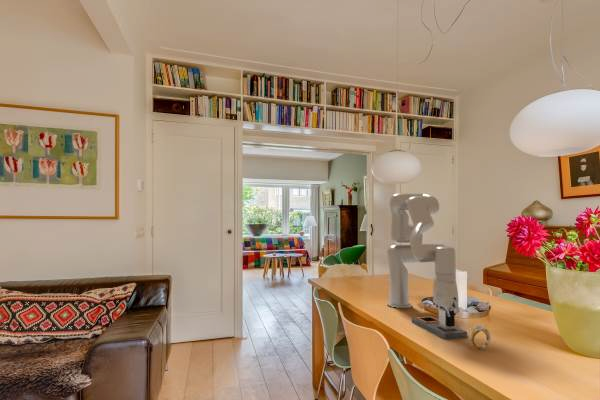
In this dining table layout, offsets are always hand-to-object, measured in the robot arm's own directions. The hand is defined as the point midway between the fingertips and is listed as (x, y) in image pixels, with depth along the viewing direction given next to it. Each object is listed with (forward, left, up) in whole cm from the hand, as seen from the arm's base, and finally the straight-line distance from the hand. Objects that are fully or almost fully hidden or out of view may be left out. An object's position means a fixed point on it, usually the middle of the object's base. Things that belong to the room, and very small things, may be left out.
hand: (446, 323), depth 132 cm
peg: (0, 0, -2) cm, 2 cm away
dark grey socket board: (-6, 0, -4) cm, 7 cm away
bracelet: (+16, +1, -4) cm, 17 cm away
